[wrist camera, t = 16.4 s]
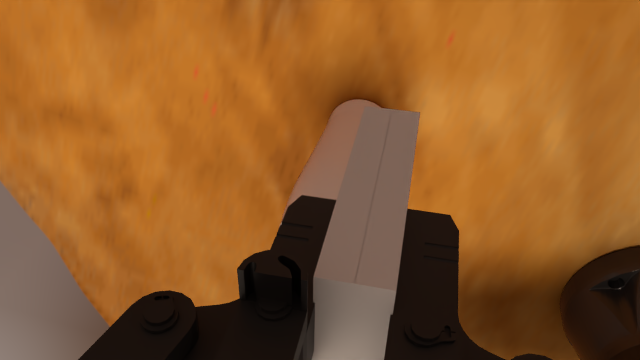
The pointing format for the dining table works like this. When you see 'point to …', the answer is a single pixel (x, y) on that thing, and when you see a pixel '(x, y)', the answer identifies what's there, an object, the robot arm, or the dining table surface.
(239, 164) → the dining table surface
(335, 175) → the drinking glass
